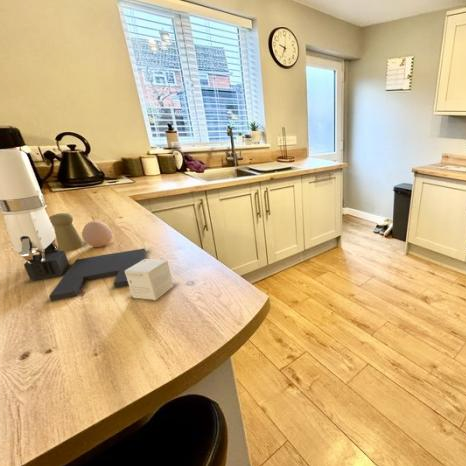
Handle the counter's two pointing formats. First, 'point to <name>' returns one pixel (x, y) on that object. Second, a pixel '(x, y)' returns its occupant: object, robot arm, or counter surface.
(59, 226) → the olive pepper mill
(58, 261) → the foam pad
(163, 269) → the product box
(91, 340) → the counter surface
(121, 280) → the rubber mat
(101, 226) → the egg
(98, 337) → the counter surface
